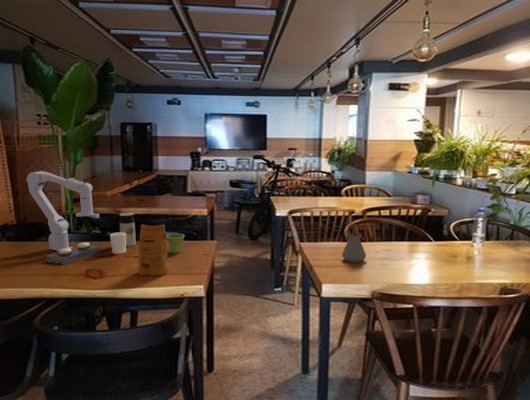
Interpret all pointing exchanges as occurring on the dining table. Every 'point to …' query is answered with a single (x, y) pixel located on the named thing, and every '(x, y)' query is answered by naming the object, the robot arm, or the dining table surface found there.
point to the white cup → (118, 242)
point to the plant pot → (175, 242)
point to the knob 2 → (83, 245)
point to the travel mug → (128, 228)
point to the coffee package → (153, 250)
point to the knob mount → (74, 254)
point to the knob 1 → (65, 251)
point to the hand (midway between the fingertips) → (88, 230)
